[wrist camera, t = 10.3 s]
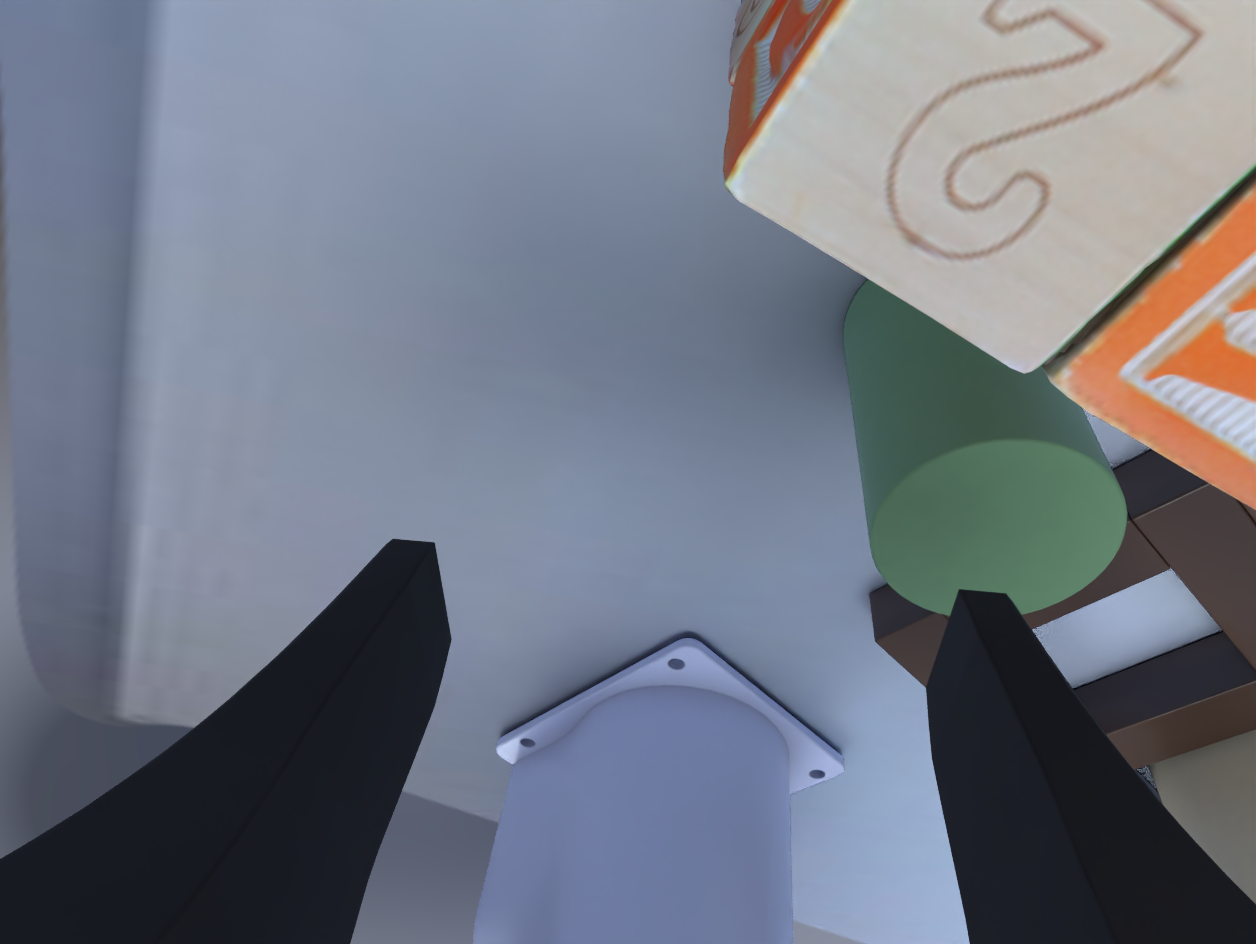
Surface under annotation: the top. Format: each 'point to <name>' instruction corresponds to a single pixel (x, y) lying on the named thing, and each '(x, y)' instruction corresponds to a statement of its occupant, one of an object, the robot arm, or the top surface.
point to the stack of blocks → (1032, 188)
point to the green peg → (972, 466)
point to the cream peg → (1216, 803)
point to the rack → (1153, 542)
